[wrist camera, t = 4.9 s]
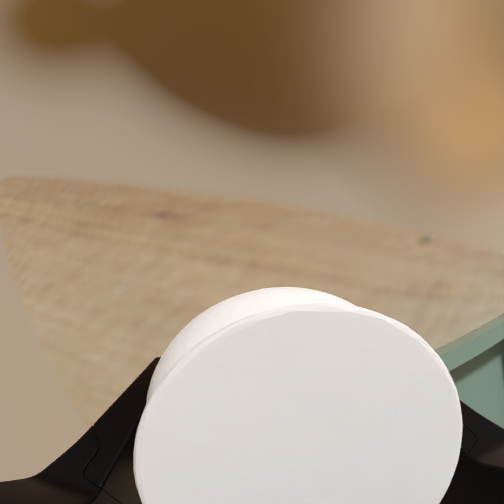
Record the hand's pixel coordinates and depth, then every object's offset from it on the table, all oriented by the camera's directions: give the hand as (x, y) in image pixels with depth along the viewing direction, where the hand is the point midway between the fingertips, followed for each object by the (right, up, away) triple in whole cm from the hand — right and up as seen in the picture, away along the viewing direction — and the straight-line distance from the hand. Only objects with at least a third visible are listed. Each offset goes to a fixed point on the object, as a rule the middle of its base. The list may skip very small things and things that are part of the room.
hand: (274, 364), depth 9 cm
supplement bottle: (0, -3, +6) cm, 7 cm away
